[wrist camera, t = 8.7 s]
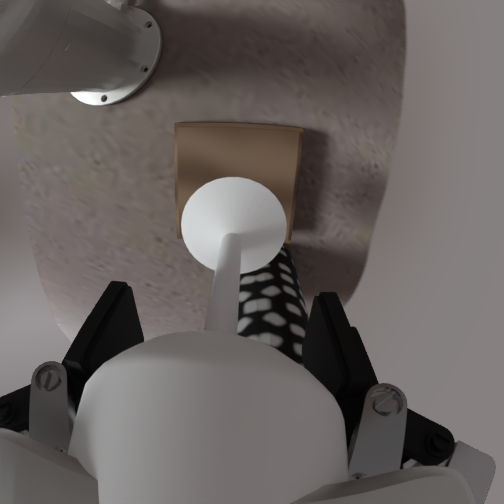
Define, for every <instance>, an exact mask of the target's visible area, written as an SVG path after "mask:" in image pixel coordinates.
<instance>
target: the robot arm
mask: <svg viewBox="0 0 504 504" xmlns="http://www.w3.org/2000/svg"><path fill="white" fill-rule="evenodd" d="M127 5H128V1H127V0H109V1H107V2H106V1H104V0H0V97H1V96H11V95H22V94H35V93H58V92H71V94H72V95H73V96H74V97H75V98H76V99H77V100H78V101H80V102H82V103H84V104H87V105H92V106H105V105H111V104H115V103H118V102H120V101H122V100H124V99H126V98H128V97H130V96H131V95H132V94H134V93H135V92H137V91H138V90H139V89H140V88H141V87H142V86H143V85H144V84H145V83H146V81H147V80H148V79H149V77H150V76H151V75H152V73H153V71H154V70H155V68H156V66H157V64H158V61H159V58H160V56H161V50H162V34H161V30H160V27H159V25H158V23H157V22H156V20H155V19H154V18H153V17H152V16H151V15H150V14H148V13H147V12H146V11H144V10H142V9H139V8H136V7H130V6H127ZM151 25H152V26H151ZM150 26H151V27H150ZM149 27H150V28H149ZM146 68H148V71H147V72H145V69H146ZM106 98H107V100H106ZM143 342H144V336H143V332H142V329H141V325H140V321H139V317H138V313H137V309H136V305H135V300H134V296H133V291H132V288H131V287H130V286H128V284H127V283H126V282H120V281H111V282H110V284H109V285H108V287H107V288H106V290H105V291H104V293H103V294H102V296H101V297H100V299H99V301H98V302H97V304H96V305H95V307H94V308H93V310H92V312H91V313H90V315H89V316H88V317H87V319H86V321H85V322H84V324H83V326H82V327H81V329H80V331H79V332H78V334H77V336H76V338H75V339H74V341H73V343H72V345H71V347H70V348H69V350H68V352H67V354H66V356H65V357H64V359H63V361H62V363H61V364H60V363H58V362H55V361H49V362H45V363H43V364H41V365H39V366H38V367H37V368H36V369H35V371H34V373H33V375H32V380H31V384H30V385H28V386H25V387H23V388H21V389H18V390H16V391H14V392H12V393H9V394H7V395H5V396H2V397H0V504H99V494H98V480H96V479H95V478H94V477H93V476H92V475H90V474H89V473H88V472H87V471H86V470H85V468H84V467H83V466H82V465H81V463H80V462H79V461H78V459H77V458H75V457H72V456H70V455H67V454H68V449H69V444H70V440H71V435H72V431H73V427H74V423H75V419H76V415H77V411H78V408H79V404H80V401H81V397H82V394H83V391H84V387H85V384H86V382H87V381H88V380H89V379H90V377H91V376H92V375H93V374H94V372H95V371H96V370H97V369H98V368H99V367H100V366H101V365H102V364H103V363H105V362H107V361H108V360H110V359H111V358H113V357H115V356H116V355H118V354H120V353H121V352H123V351H125V350H127V349H129V348H131V347H133V346H135V345H137V344H140V343H143ZM302 358H303V364H304V368H305V369H307V370H308V371H309V372H310V373H311V374H312V375H313V376H314V377H315V378H316V379H317V380H318V381H319V382H320V383H321V384H323V385H324V386H325V388H326V389H327V390H328V391H329V392H330V393H331V394H332V395H333V396H334V398H335V400H336V401H337V403H338V405H339V407H340V409H341V412H342V415H343V418H344V422H345V431H346V441H347V451H348V480H349V481H347V482H341V483H335V484H328V485H323V486H322V487H321V488H319V489H318V490H316V491H314V492H312V493H310V494H308V495H306V496H304V497H302V498H300V499H298V500H296V501H294V502H292V503H290V504H484V502H485V499H486V497H487V494H488V491H489V489H490V486H491V483H492V480H493V477H494V474H495V469H496V466H495V461H494V460H493V458H492V457H491V456H489V455H487V454H485V453H483V452H481V451H479V450H477V449H475V448H473V447H471V446H469V445H467V444H465V443H463V442H461V441H457V442H454V438H453V435H452V433H451V432H450V431H449V430H448V429H446V428H445V427H443V426H441V425H439V424H437V423H435V422H433V421H431V420H429V419H427V418H425V417H423V416H422V415H420V414H418V413H416V412H414V411H412V410H410V409H408V408H407V399H406V397H405V394H404V393H403V392H402V391H401V390H400V389H399V388H398V387H396V386H394V385H391V384H387V383H381V384H379V383H378V381H377V378H376V375H375V373H374V370H373V367H372V365H371V362H370V360H369V357H368V355H367V352H366V350H365V347H364V345H363V342H362V340H361V337H360V335H359V333H358V330H357V329H356V328H355V327H351V326H350V324H349V322H348V319H347V317H346V314H345V312H344V309H343V307H342V305H341V302H340V300H339V297H338V295H337V293H336V292H320V294H319V296H315V297H314V300H313V305H312V309H311V313H310V317H309V321H308V325H307V329H306V333H305V336H304V340H303V344H302Z"/></svg>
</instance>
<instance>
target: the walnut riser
mask: <svg viewBox="0 0 504 504" xmlns="http://www.w3.org/2000/svg"><path fill="white" fill-rule="evenodd" d="M302 140H303V128H300V127H294V126H284V125H273V124H260V123H241V122H180V123H175V135H174V164H175V203H176V224H177V238H180V239H183V236H182V229H181V220H182V214H183V211H184V208H185V205H186V204H187V202H188V200H189V199H190V197H191V196H192V195H193V194H194V193H195V192H196V191H197V190H198V189H199V188H201V187H202V186H203V185H205V184H206V183H209V182H211V181H213V180H216V179H220V178H225V177H241V178H246V179H250V180H252V181H255V182H257V183H260V184H261V185H263V186H264V187H266V188H267V189H269V190H270V191H271V192H272V193H273V194H274V195H275V196H276V198H277V199H278V201H279V202H280V204H281V205H282V208H283V210H284V213H285V216H286V223H287V228H286V236H285V240H284V243H291V235H292V228H293V220H294V212H295V204H296V196H297V187H298V178H299V169H300V160H301V150H302Z"/></svg>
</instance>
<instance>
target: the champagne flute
mask: <svg viewBox="0 0 504 504" xmlns="http://www.w3.org/2000/svg"><path fill="white" fill-rule="evenodd" d="M286 228H287V223H286V216H285V213H284V210H283V208H282V205H281V204H280V202H279V201H278V199H277V198H276V196H275V195H274V194H273V193H272V192H271V191H270V190H269V189H267V188H266V187H264V186H263V185H261V184H260V183H257V182H255V181H252V180H250V179H246V178H241V177H225V178H220V179H216V180H213V181H211V182H209V183H206V184H205V185H203V186H202V187H201V188H199V189H198V190H197V191H196V192H195V193H194V194H193V195H192V196H191V197H190V199H189V200H188V202H187V204H186V205H185V208H184V211H183V214H182V220H181V229H182V236H183V239H184V242H185V244H186V246H187V248H188V249H189V251H190V252H191V254H192V255H193V256H194V257H195V258H196V259H197V260H198V261H199V262H200V263H202V264H203V265H205V266H207V267H208V268H210V269H212V270H215V275H214V280H213V285H212V290H211V295H210V301H209V306H208V311H207V317H206V322H205V328H204V331H187V332H176V333H171V334H167V335H163V336H159V337H156V338H153V339H151V340H148V341H145V342H143V343H140V344H137V345H135V346H133V347H131V348H129V349H127V350H125V351H123V352H121V353H120V354H118V355H116V356H115V357H113V358H111V359H110V360H108V361H107V362H105V363H103V364H102V365H101V366H100V367H99V368H98V369H97V370H96V371H95V372H94V374H93V375H92V376H91V377H90V379H89V380H88V381H87V382H86V384H85V387H84V391H83V394H82V397H81V401H80V404H79V408H78V411H77V415H76V419H75V423H74V427H73V431H72V435H71V440H70V444H69V449H68V454H67V455H70V456H72V457H75V458H77V459H78V461H79V462H80V463H81V465H82V466H83V467H84V468H85V470H86V471H87V472H88V473H89V474H90V475H92V476H93V477H94V478H95V479H96V480H98V494H99V504H290V503H292V502H294V501H296V500H298V499H300V498H302V497H304V496H306V495H308V494H310V493H312V492H314V491H316V490H318V489H319V488H321V487H322V486H323V485H328V484H335V483H341V482H347V481H349V480H348V451H347V441H346V431H345V422H344V418H343V415H342V412H341V409H340V407H339V405H338V403H337V401H336V400H335V398H334V396H333V395H332V394H331V393H330V392H329V391H328V390H327V389H326V388H325V386H324V385H323V384H321V383H320V382H319V381H318V380H317V379H316V378H315V377H314V376H313V375H312V374H311V373H310V372H309V371H308V370H307V369H305V368H304V367H302V366H301V365H299V364H298V363H296V362H295V361H293V360H292V359H290V358H289V357H287V356H286V355H284V354H283V353H281V352H280V351H278V350H277V349H275V348H273V347H271V346H268V345H266V344H264V343H262V342H259V341H256V340H253V339H249V338H246V337H242V336H239V335H237V328H238V307H239V287H240V274H243V273H249V272H252V271H255V270H258V269H259V268H261V267H263V266H265V265H266V264H268V263H269V262H270V261H271V260H272V259H273V258H274V257H275V256H276V255H277V254H278V252H279V251H280V249H281V247H282V245H283V243H284V240H285V236H286Z"/></svg>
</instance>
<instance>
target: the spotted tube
mask: <svg viewBox="0 0 504 504" xmlns="http://www.w3.org/2000/svg"><path fill="white" fill-rule="evenodd" d="M308 321H309V318H308V314H307V310H306V306H305V303H304V299H303V295H302V292H301V288H300V284H299V281H298V277H297V273H296V270H295V266H294V263H293V259H292V256H291V254H290V253H289V251H288V250H287V249H286V248H285V247H284V246H283V245H282V247H281V249H280V251H279V252H278V254H277V255H276V256H275V257H274V258H273V259H272V260H271V261H270V262H269V263H268V264H266V265H265V266H263V267H261V268H259V269H258V270H255V271H252V272H249V273H243V274H240V287H239V307H238V328H237V335H239V336H242V337H246V338H249V339H253V340H256V341H259V342H262V343H264V344H266V345H268V346H271V347H273V348H275V349H277V350H278V351H280V352H281V353H283V354H284V355H286V356H287V357H289V358H290V359H292V360H293V361H295V362H296V363H298V364H299V365H301V366H302V367H304V364H303V358H302V344H303V340H304V336H305V333H306V329H307V325H308Z"/></svg>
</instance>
